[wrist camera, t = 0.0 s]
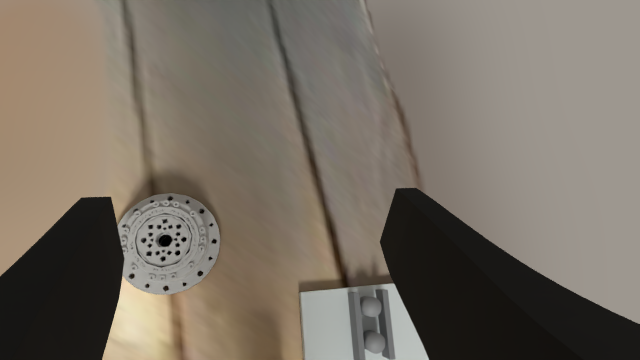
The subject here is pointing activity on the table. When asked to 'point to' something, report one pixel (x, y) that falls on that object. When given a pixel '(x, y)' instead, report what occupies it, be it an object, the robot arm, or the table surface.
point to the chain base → (358, 325)
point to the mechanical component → (191, 251)
